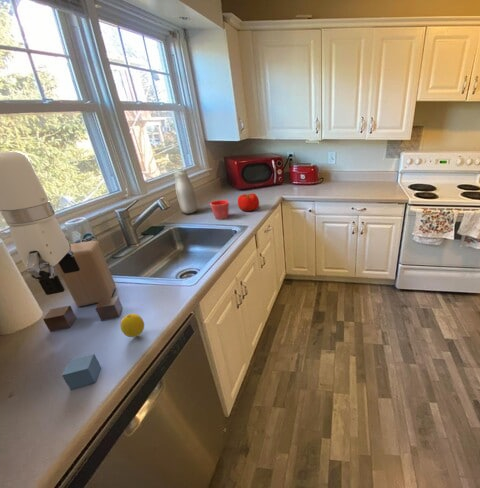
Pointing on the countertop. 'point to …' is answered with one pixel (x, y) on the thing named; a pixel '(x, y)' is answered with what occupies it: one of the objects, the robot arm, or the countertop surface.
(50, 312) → the block left
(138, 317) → the lemon
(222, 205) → the flower pot
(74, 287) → the block
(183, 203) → the glass bottle
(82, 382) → the blue block
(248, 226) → the countertop surface
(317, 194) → the countertop surface
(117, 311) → the block right
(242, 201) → the tomato
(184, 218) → the countertop surface
